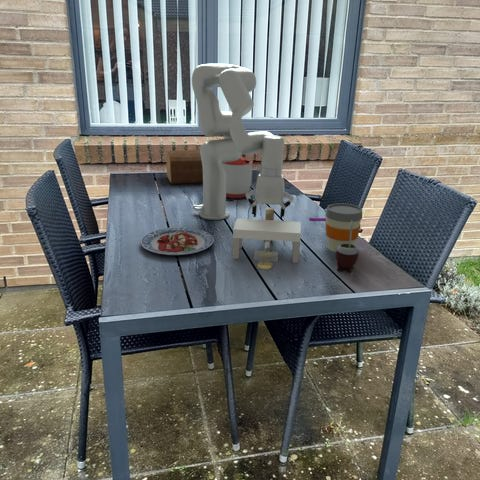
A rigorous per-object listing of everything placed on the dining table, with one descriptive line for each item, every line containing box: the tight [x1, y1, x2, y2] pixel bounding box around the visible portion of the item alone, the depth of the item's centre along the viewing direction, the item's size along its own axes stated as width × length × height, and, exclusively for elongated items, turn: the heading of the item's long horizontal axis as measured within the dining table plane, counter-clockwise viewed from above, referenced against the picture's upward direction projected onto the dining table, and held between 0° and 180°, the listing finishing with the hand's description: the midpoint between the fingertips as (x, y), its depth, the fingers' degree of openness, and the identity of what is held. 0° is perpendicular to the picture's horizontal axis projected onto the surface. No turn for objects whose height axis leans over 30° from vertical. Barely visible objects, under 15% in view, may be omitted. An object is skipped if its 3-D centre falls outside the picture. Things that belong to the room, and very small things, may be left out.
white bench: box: [232, 217, 302, 264], centre depth 160 cm, size 22×11×10 cm, turn 84°
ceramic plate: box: [140, 226, 214, 256], centre depth 167 cm, size 26×26×3 cm
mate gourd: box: [335, 220, 359, 274], centre depth 149 cm, size 8×8×15 cm
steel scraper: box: [253, 206, 279, 262], centre depth 164 cm, size 8×21×12 cm, turn 174°
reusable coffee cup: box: [325, 202, 363, 253], centre depth 165 cm, size 13×13×15 cm
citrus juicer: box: [222, 157, 255, 199], centre depth 224 cm, size 16×17×20 cm
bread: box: [165, 148, 203, 184], centre depth 251 cm, size 18×30×16 cm, turn 105°
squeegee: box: [309, 208, 327, 222], centre depth 195 cm, size 29×2×10 cm
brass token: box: [256, 260, 273, 271], centre depth 152 cm, size 5×5×1 cm
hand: (267, 217), depth 171 cm, fingers open, 9 cm apart
